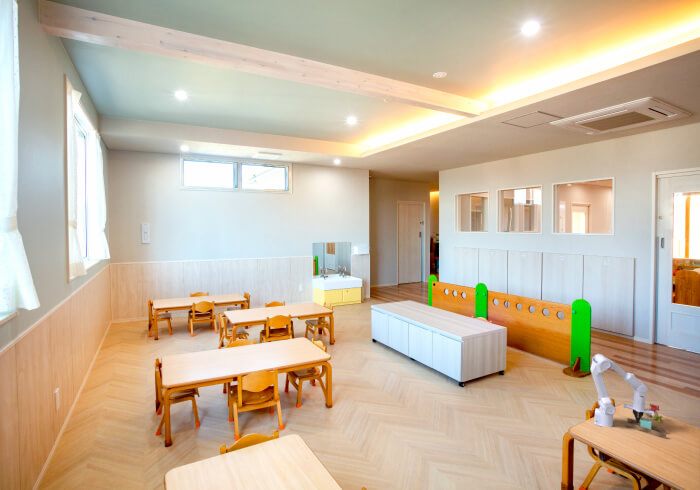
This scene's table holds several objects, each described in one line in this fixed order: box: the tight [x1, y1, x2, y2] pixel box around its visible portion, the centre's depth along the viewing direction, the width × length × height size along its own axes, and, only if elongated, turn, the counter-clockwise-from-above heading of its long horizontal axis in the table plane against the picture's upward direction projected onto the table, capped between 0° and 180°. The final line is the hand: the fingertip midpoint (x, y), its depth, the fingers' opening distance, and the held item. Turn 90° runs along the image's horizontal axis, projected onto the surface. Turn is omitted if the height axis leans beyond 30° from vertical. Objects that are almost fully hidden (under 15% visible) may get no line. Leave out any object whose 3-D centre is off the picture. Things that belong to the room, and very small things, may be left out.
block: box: [640, 416, 653, 429], centre depth 219 cm, size 5×5×6 cm
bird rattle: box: [643, 403, 664, 423], centre depth 231 cm, size 6×11×9 cm
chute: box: [625, 417, 667, 440], centre depth 219 cm, size 19×7×4 cm, turn 48°
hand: (637, 422), depth 222 cm, fingers closed
